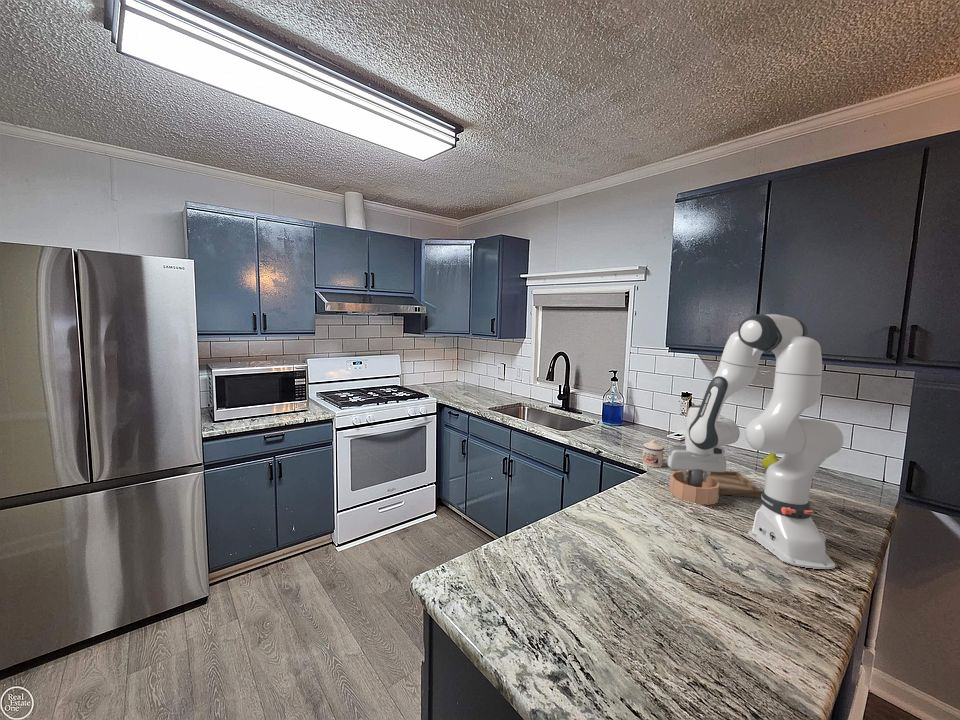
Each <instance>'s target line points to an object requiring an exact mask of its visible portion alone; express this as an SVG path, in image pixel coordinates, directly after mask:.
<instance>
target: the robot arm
mask: <svg viewBox="0 0 960 720" xmlns="http://www.w3.org/2000/svg"><path fill="white" fill-rule="evenodd" d="M808 335H809V330H808V325H807V324H806V323H805V322H804V321H803V320H802V319H800V318H798V317H795V316H792V315H791V316H790V315H782V314H778V313H777V314H776V313H768V314H766V313H765V314H763V313H757V314H754V315H751V316H748V317H746V318H744V319H743V320H742V321H741V322H740V324H739V326H738V330H737V331H734V332H733V333H731V334H730V336H729V337H728V339H727V341H726V343H725V346H724V349H723V352H722V354H721V357H720V362H719V364H718V368H717V370H716V372H715V374H714V376H713V378H712V379H711V381H710V382H709V384H708V386H707V388H706V391H705V393H704V395H703V398H702V401H701V404H699V405H692V406H689V408H688V411H687V414H686V419H685V420H686V422H685V428H686V434H685V436H684V445H683V444H682V445H680V444H679V445H677V444H673V445H672V446H669V448H668V453H669V457H668V456H667V460H668V462H667V466H668V467H669V468H670V469H671V470H675V471H676V470H677V471H681V472H682V473H683V475H684V481H689V476H688V475H686V474H685V473H687V471H688V470H693V469H699V470H703V471H705V475H704V476H703V480H702V482H707V478H708V477H709V476H710V474H711V472H724V471H726V470H727V458H726V455H725V453H726V450H725V449H724V447H722V446H728V445H732V444H734V443H736V442H737V441H738V440H739V438H740V435H741V433H740V428H739V425H738V424H737V423H736V422H735V421H734V420H732V419H730V418H728V417H725V416H723V415H721V411H722V409H723V406H724V403H726V401H727V399H729V398H730V396H732V395H734V394H735V393H737V392H739V391H740V390H743V389H744V388H747V387H749V386H750V385H751V383H752V382H753V380H754V378H755V377H756V374H757V371H758V367H759V365H760V359H761V356H762V354H763V353H769V352H772V354H774V356H775V360H776V361H775V371H774V380H773V381H774V382H773V389H772V393H771V396H770V397H771V398H770V400H769V402H768V404H767V406H765V408H764V410H763V411H762V412H761V413H759V415H757V416H756V417H754V418H753V419H750V420H749V422H748V423H747V424H746V427H745V429H744V430H745V431H744V436H745V440H746V442H747V444H748V445H749V447H751V448H752V449H753V450H755V451H758V452H762V453H768V454H770V453H773V454H776V455H779V454H780V455H783V456H782V457H781V458H780V459H778V460H779V461H777V462H775V463H773V464H771V465H770V466H769V467H768V468H767V470H766V469H765V478H764V489H763V490H762V495H761V498H760V502H761V505H760V506H759V508H758V509H757V510H756V511H755V516H754V520H753V526H752V530H749V531H748V532H747V536H748V535H750V536H751V537H752V538H753V539H755V540H756V541H757V542H759V543H760V544H761V545H762V546H764V547H765V548H766V549H768V550H769V551H770V552H772V553H773V554H774V555H776V556H777V557H778V558H779V559H781V560H782V561H784V562H787V563H790V564H793V565H797V566H801V567H805V568H804V569H806V568H813V569H812V570H814V569H832V568H835V567H836V563H835V562H834V561H833V560H832V559H831V557H830V556H829V555H828V553H826V542H827V541H826V540H827V537H826V535H825V534H823V533H821V532H819V529H818V528H817V524H815V522H814V520H813V519H812V516H813V515H814V511H813V510H812V506H811V502H810V500H809V499H810V492H811V487H812V483H813V482H812V481H813V478H814V475H815V473H816V472H817V470H818V469H819V468H820V466H821V465H822V464H823V463H824V462H825V461H826V460H827V459H829V458H830V457H832V456H833V455H834V454H835V455H836V454H837V453H839V451H840V450H841V449H842V448H843V446H844V435H843V433H842V431H841V429H840V428H839V427H838V426H837V425H836V424H835V423H833V422H829V421H826V420H822V419H816V418H800V417H801V415H802V413H803V412H804V411H806V410H807V409H808V408H810V407H813V406H815V405H816V404H817V403H818V402H819V401H820V399H821V398H820V397H821V390H822V389H821V388H822V386H821V385H822V379H823V378H822V375H823V358H822V348H821V344H820V343H819V341H817V340H815V338H812V337H808ZM752 538H751V539H752ZM753 539H752V540H753ZM757 542H756V543H757ZM761 545H760V546H761ZM762 546H761V547H762ZM766 549H765V550H766ZM794 562H795V563H794ZM835 569H836V568H835ZM832 570H833V569H832Z"/></svg>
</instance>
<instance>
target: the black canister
mask: <svg viewBox="0 0 960 720" xmlns="http://www.w3.org/2000/svg"><path fill="white" fill-rule="evenodd" d="M687 471H688V476H689V481H688V482H687V485H690V486H694V487H701V488H702V480H703V470H699V469H693V470H687Z"/></svg>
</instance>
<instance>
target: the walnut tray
mask: <svg viewBox="0 0 960 720" xmlns="http://www.w3.org/2000/svg"><path fill="white" fill-rule="evenodd" d="M703 474H705V471H703ZM710 477H713V478H715V479H716V480H717V481H718V482H719V483H720V491H719V494H721V495H720V496H725V495H732V496H731V497H738V496H744V497H743V498H751V497H756V498H755V499H761V495H762V491H763V490H762V491H761V489H759V488H758V487H757V486H755V484H753V483H752V482H751V481H749V480H748V479H747V478H745V476H744V475H742V474H740V473H739V472H738V471H730V470H727V471H726V470H725V471H724V472H711V474H710Z"/></svg>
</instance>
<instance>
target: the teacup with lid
mask: <svg viewBox="0 0 960 720" xmlns="http://www.w3.org/2000/svg"><path fill="white" fill-rule="evenodd" d="M642 447H643V448H642V462H643V463H642V464H643V465H644V466H645V465H646V467H648V466H649V468H653V467H659V466H662V467H663V464H664V463H668V459H667V460H664V454H665V455H666V456H667V458H668V457H669V452H667V451H664V450H665V446H663V445H662V444H661V443H659V442H657V440H656V439H655V440H654V439H651V441H648V442H644V443H643V445H642ZM650 466H651V467H650ZM659 468H660V467H659Z"/></svg>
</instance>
